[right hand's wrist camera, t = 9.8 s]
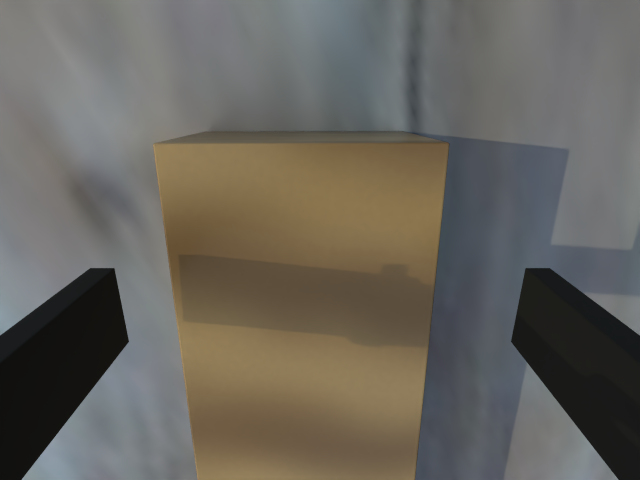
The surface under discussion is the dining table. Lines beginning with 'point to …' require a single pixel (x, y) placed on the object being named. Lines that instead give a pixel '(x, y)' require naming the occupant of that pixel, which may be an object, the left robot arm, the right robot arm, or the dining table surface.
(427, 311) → the wooden beam
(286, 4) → the dining table surface
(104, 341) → the right robot arm
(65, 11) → the dining table surface
